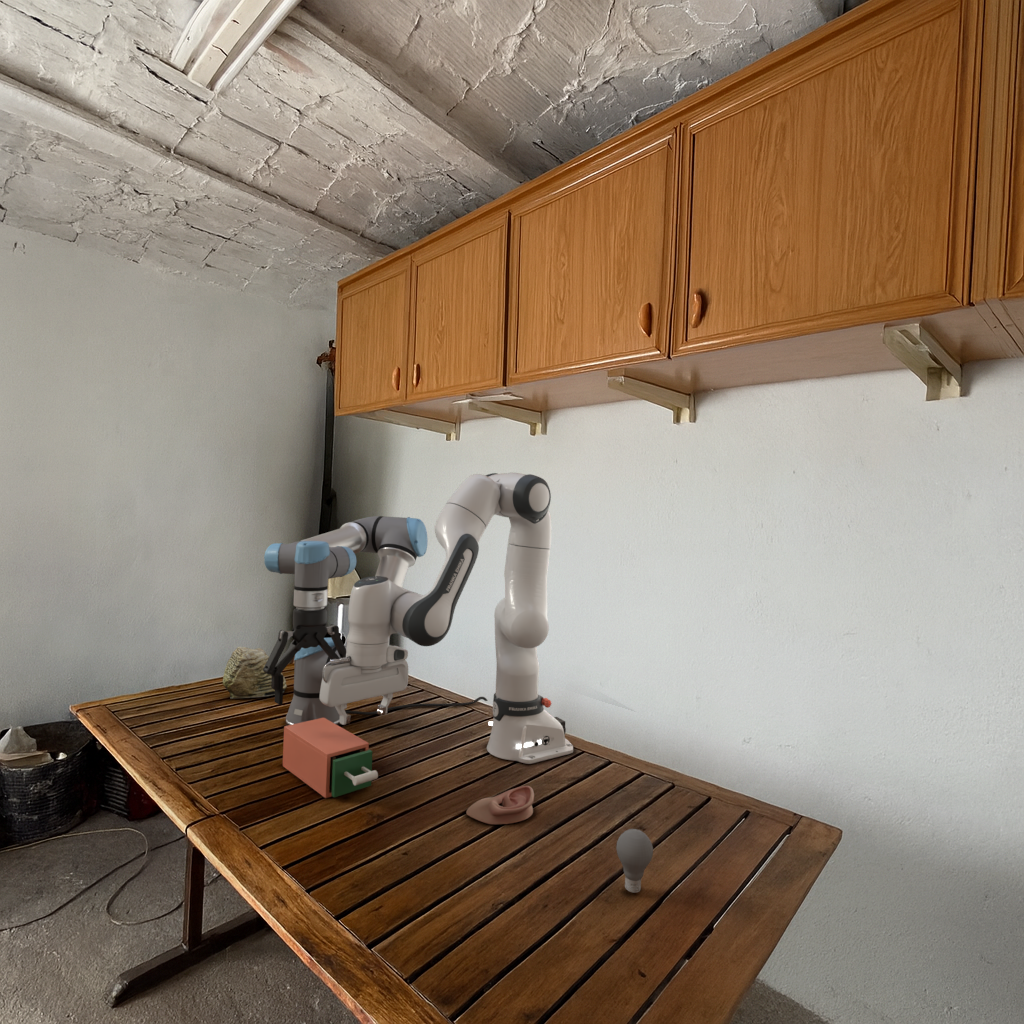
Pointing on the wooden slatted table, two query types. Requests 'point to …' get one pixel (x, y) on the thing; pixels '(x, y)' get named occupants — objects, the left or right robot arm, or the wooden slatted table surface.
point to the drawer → (351, 772)
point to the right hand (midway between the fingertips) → (363, 718)
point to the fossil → (248, 674)
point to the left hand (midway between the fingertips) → (307, 697)
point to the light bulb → (634, 857)
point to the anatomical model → (504, 807)
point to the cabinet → (316, 751)
